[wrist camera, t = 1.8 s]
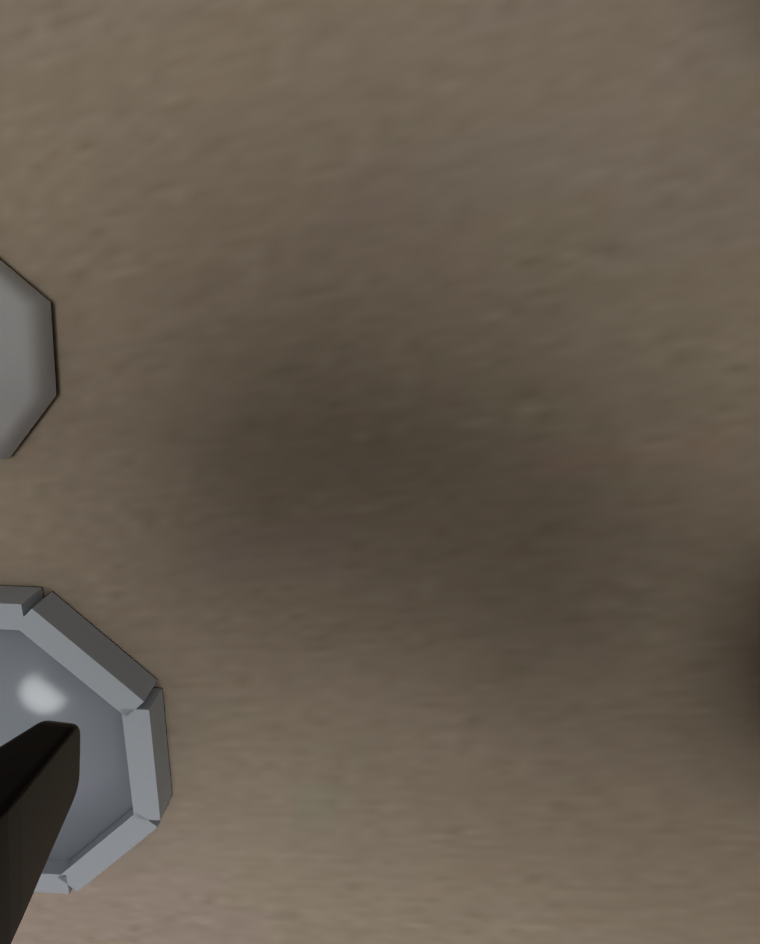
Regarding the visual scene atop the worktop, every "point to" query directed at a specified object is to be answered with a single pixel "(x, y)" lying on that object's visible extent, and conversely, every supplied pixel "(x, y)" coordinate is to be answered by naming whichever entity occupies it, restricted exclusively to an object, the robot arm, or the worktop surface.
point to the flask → (23, 359)
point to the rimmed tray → (85, 729)
